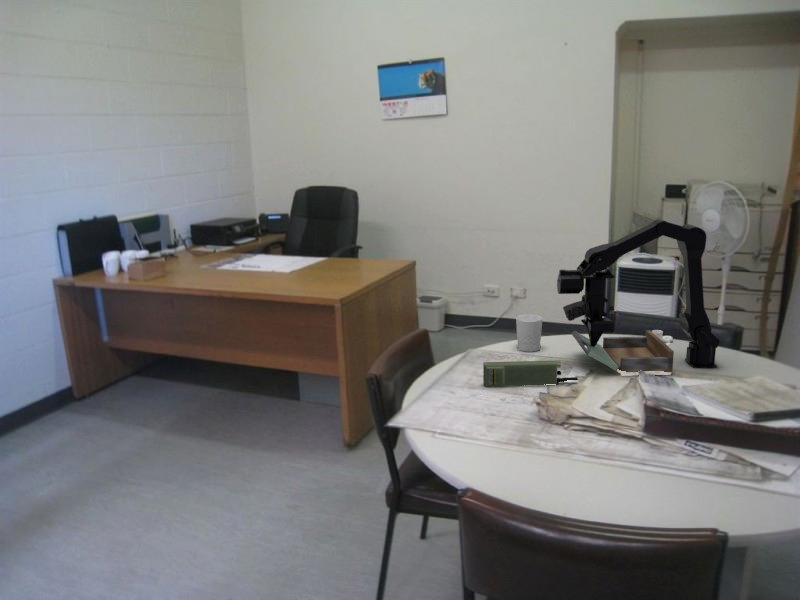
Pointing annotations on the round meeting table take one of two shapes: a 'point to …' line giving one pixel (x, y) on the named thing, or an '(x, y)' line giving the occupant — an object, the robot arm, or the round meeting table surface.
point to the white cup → (529, 332)
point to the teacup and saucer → (664, 338)
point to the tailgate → (594, 350)
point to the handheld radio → (522, 373)
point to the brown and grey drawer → (639, 353)
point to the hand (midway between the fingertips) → (593, 346)
